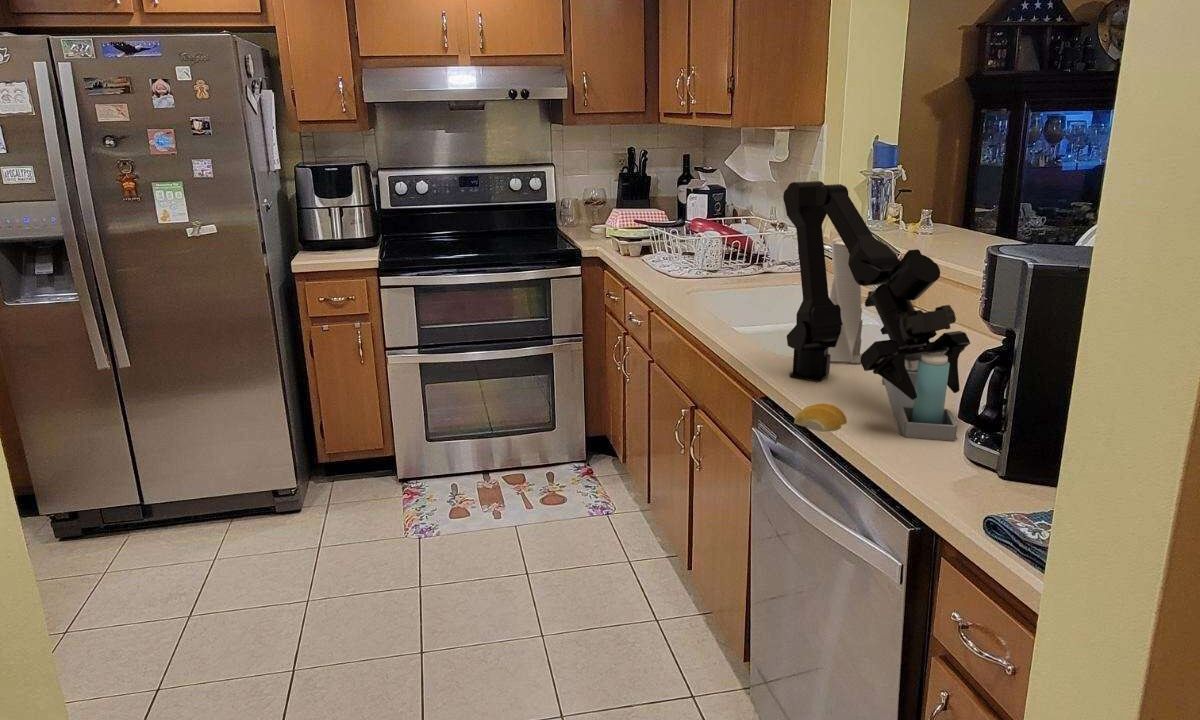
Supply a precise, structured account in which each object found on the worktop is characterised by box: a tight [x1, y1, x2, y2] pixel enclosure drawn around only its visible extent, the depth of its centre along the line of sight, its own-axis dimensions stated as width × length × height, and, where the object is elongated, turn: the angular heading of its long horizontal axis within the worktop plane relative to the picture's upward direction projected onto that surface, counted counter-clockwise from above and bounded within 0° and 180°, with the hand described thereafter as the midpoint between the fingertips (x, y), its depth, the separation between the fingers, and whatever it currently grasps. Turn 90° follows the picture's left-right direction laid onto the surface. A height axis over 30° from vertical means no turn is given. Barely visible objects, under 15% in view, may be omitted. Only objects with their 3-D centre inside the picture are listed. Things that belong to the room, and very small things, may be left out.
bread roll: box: [794, 402, 848, 432], centre depth 145 cm, size 8×9×4 cm
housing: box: [881, 372, 958, 442], centre depth 151 cm, size 32×9×4 cm, turn 167°
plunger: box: [905, 355, 922, 372], centre depth 162 cm, size 4×4×6 cm
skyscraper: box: [828, 237, 863, 365], centre depth 177 cm, size 8×8×28 cm
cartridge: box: [912, 353, 950, 424], centre depth 138 cm, size 5×5×13 cm
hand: (936, 395), depth 137 cm, fingers open, 8 cm apart
